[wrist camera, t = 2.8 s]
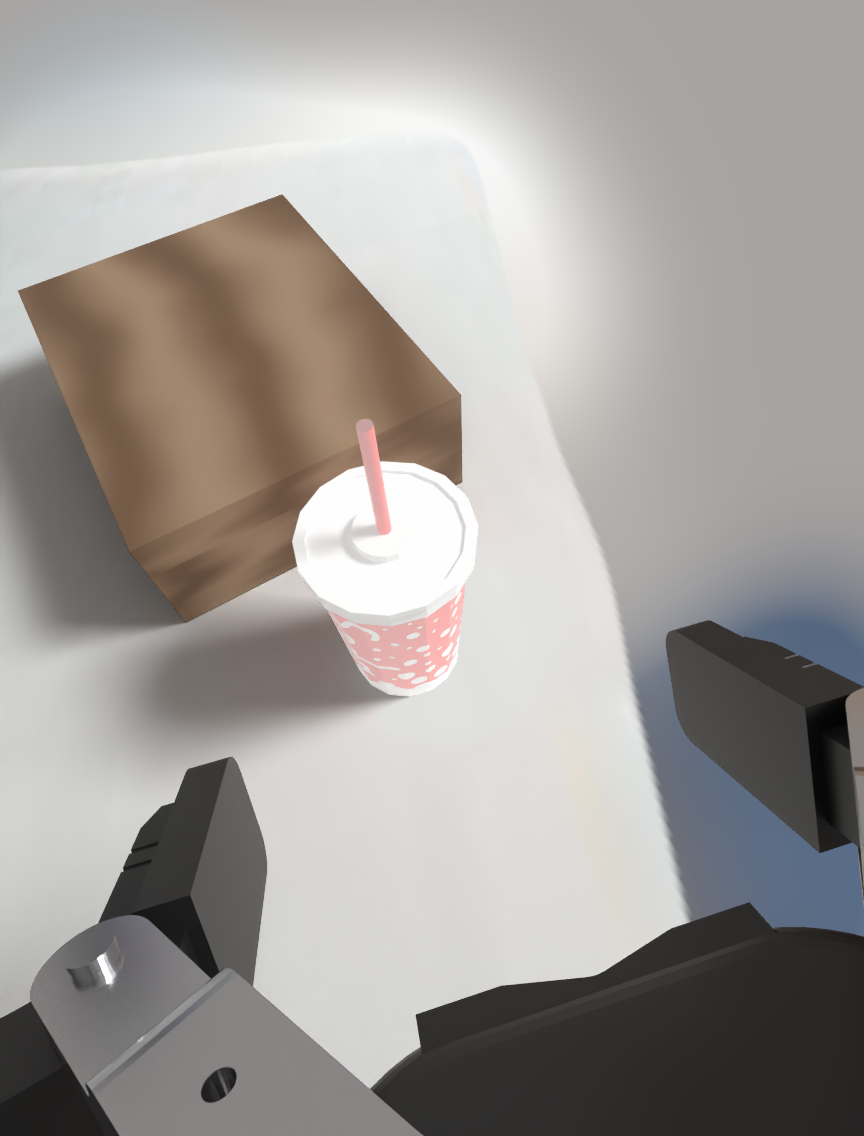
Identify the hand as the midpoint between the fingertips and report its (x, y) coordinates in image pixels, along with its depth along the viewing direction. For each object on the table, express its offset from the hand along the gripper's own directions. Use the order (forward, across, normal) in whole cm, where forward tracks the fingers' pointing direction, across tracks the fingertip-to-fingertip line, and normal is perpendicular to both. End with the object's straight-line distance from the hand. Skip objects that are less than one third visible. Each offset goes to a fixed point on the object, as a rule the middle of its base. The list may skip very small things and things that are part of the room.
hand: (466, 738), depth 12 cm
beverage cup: (+17, 0, +4) cm, 18 cm away
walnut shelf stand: (+28, +5, -6) cm, 29 cm away
